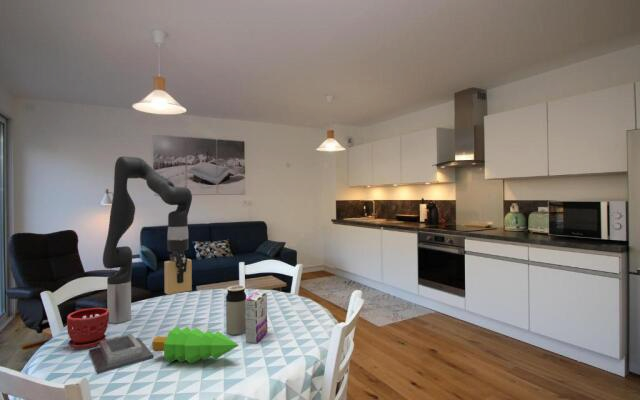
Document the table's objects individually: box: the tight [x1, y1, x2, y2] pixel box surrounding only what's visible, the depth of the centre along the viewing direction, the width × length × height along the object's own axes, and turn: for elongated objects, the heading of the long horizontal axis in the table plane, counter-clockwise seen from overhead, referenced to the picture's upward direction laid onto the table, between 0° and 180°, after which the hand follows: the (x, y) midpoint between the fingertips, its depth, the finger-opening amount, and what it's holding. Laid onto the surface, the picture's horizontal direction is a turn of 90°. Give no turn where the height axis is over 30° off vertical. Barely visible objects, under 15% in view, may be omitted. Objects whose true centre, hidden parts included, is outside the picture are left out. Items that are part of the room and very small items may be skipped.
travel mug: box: [225, 285, 247, 336], centre depth 137 cm, size 8×8×18 cm
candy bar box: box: [245, 291, 268, 344], centre depth 130 cm, size 11×5×16 cm, turn 168°
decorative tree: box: [152, 326, 240, 365], centre depth 111 cm, size 11×12×30 cm
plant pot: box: [66, 307, 109, 350], centre depth 126 cm, size 13×13×12 cm
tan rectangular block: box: [163, 258, 193, 296], centre depth 131 cm, size 4×9×12 cm, turn 131°
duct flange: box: [88, 333, 154, 375], centre depth 116 cm, size 20×16×4 cm
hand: (178, 281), depth 131 cm, fingers closed on tan rectangular block, 4 cm apart
